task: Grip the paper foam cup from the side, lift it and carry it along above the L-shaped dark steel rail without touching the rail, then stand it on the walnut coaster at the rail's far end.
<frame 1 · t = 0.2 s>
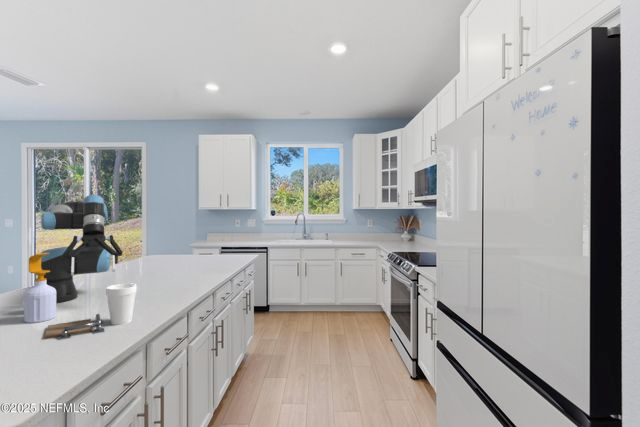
hand: (93, 272, 130), 16 cm above the counter, tool tilted 35°, fingers open, 13 cm apart
soap bottle: (40, 319, 119), on the counter
rail: (98, 331, 108), resting in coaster
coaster: (69, 329, 109), on the counter
apple: (33, 312, 127), on the counter
foam cup: (121, 322, 117), on the counter
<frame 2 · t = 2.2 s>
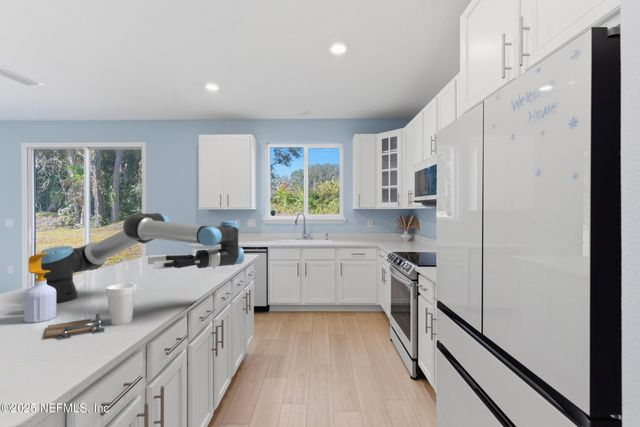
hand: (150, 263, 123), 21 cm above the counter, tool horizontal, fingers open, 13 cm apart
nothing on the counter moved.
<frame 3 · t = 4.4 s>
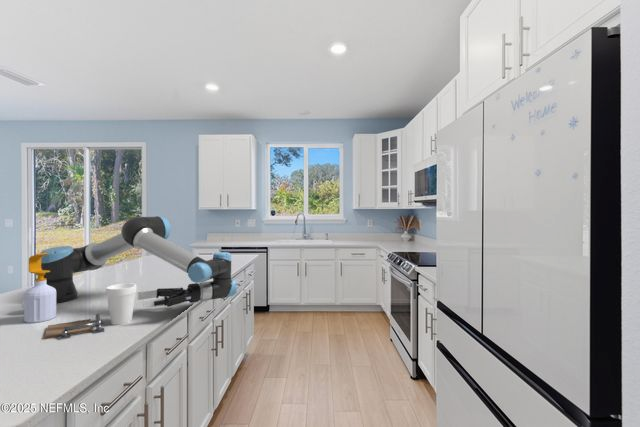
hand: (140, 300, 120), 7 cm above the counter, tool horizontal, fingers open, 13 cm apart
nothing on the counter moved.
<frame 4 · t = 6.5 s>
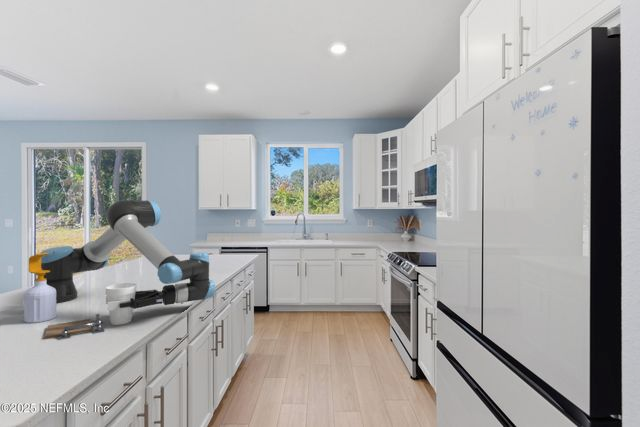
hand: (107, 303, 115), 7 cm above the counter, tool horizontal, fingers closed on foam cup, 9 cm apart
foam cup: (121, 322, 117), on the counter, touching gripper
everything else where it was.
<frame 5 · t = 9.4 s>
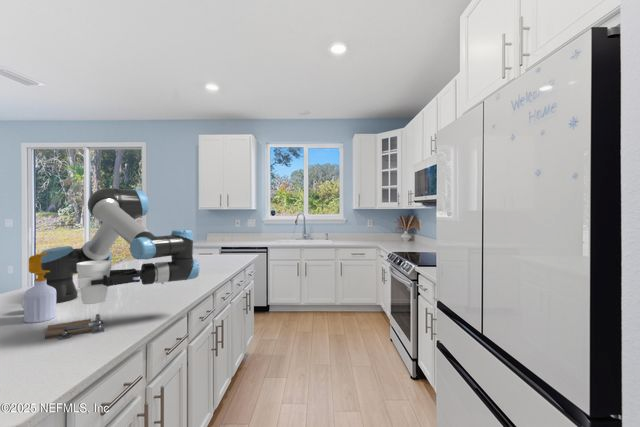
hand: (77, 280, 104), 18 cm above the counter, tool horizontal, fingers closed on foam cup, 9 cm apart
foam cup: (94, 302, 107), point 10 cm above the counter, touching gripper
everything else where it was.
when the fingers open (10 cm above the counter, at t = 12.4 s): foam cup drops 1 cm, resting on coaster.
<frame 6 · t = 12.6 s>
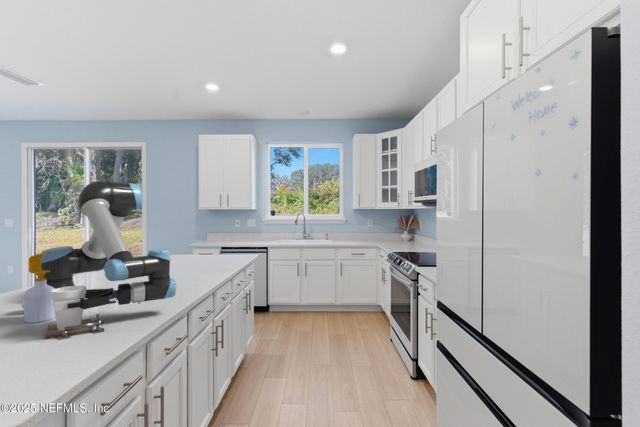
hand: (55, 302, 107), 10 cm above the counter, tool horizontal, fingers open, 12 cm apart
foam cup: (69, 327, 109), point 1 cm above the counter, touching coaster
everything else where it was.
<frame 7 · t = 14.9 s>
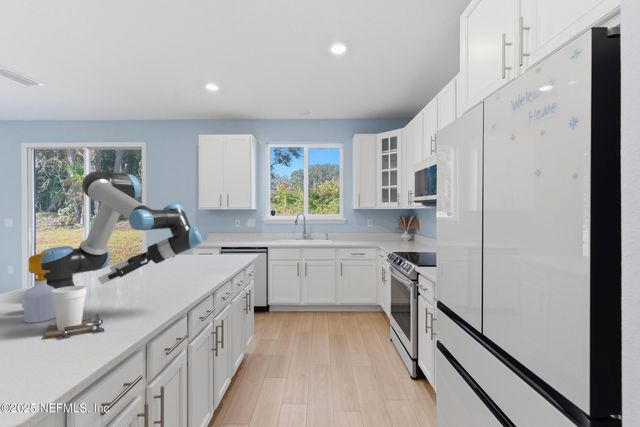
hand: (105, 275, 122), 16 cm above the counter, tool tilted 65°, fingers open, 13 cm apart
nothing on the counter moved.
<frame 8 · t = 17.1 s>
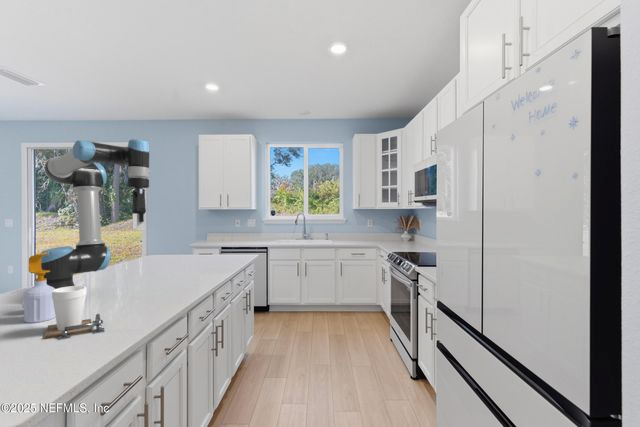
hand: (138, 229, 133), 33 cm above the counter, tool pointing down, fingers open, 13 cm apart
nothing on the counter moved.
at the end: foam cup 0.1 cm from the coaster (horizontally); foam cup tilted 0°; foam cup touching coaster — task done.
